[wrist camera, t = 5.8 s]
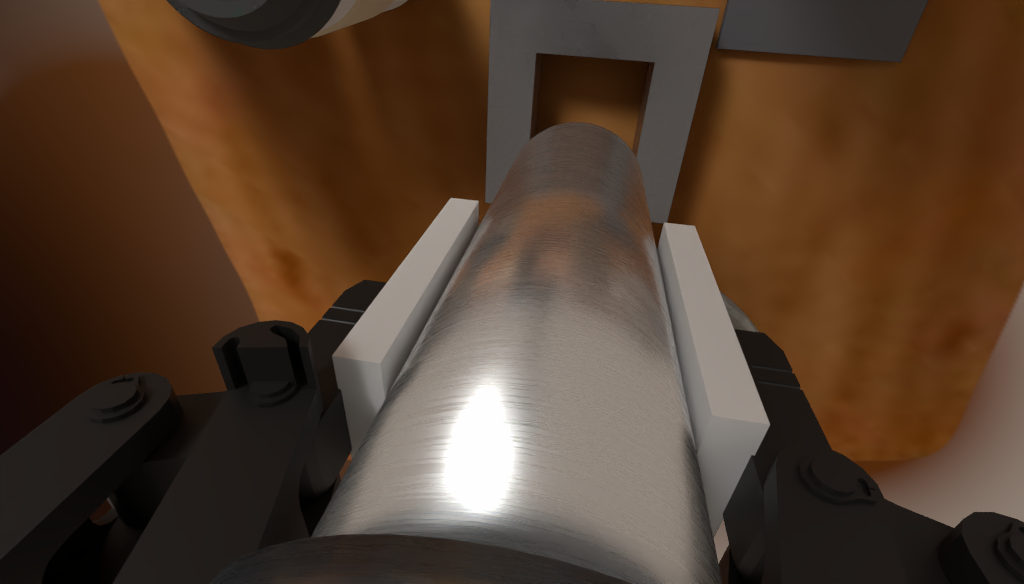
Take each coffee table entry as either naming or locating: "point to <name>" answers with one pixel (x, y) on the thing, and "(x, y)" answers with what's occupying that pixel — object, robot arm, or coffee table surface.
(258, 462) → the robot arm
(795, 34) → the mat
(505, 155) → the frame
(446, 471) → the silver domed cylinder
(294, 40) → the coffee cup
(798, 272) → the coffee table surface
